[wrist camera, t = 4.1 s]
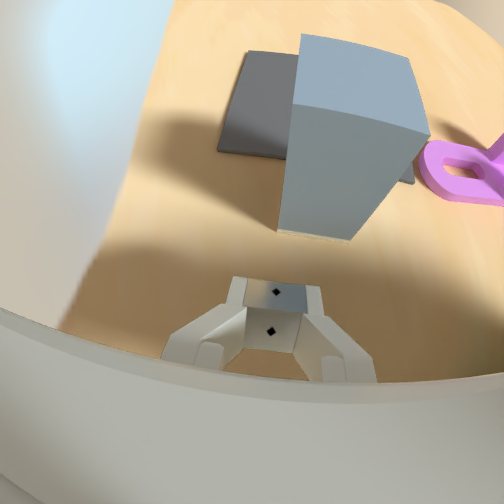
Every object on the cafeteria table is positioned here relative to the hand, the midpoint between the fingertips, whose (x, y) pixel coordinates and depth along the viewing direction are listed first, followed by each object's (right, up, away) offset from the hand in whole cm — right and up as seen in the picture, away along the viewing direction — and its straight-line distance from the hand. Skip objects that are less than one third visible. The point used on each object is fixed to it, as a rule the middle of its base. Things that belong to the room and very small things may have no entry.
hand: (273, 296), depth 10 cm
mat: (+6, +15, +13) cm, 21 cm away
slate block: (+4, +5, +10) cm, 12 cm away
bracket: (+20, +8, +11) cm, 24 cm away
